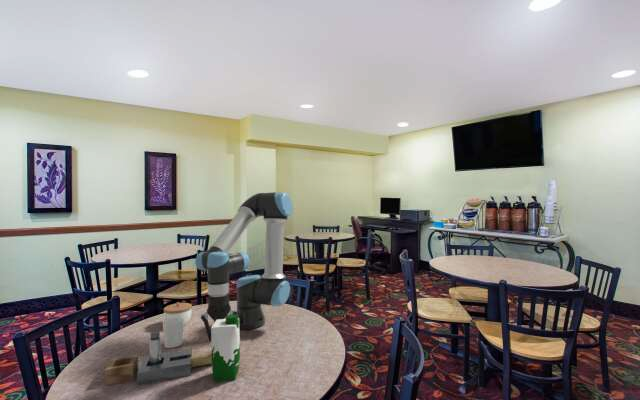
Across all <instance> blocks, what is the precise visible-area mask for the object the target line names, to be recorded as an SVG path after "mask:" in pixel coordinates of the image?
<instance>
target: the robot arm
mask: <svg viewBox="0 0 640 400" xmlns="http://www.w3.org/2000/svg"><path fill="white" fill-rule="evenodd" d="M292 212H293V201H292V198H291V197H290V195H289V194H287V192H283V191H282V192H279V191H277V192H275V191H274V192H259V193H258V192H257V193H255V194H253V195H252V196H250V197H248V199H245V200H244V202H243V203H242V204H241V205H240V206H239V207H238V208H237V213H236V214H235V216H234V217H233V218H232V219H231V221H230V222H229V223H228V224H227V226H226V227H225V228H224V230H223V231H222V232H221V233H220V234H219V236H218V237H217V238H216V239H215V241H214V242H213V243H212V245H211V246H210V247H209V249H208V250H207V251H202V252H201V251H200V252H199V253H198V254H197V255H196V258H195V261H194V263H195V266H196V268H197V269H198V270H200V271H206V272H207V295H208V296H207V309H206V312H205V313H202V314H201V315H200V319H201V321H203V324H204V328H205V330H206V334H207V337H208V341H209V342H211V327H210V324H209V320H208V318H209V317H210V319H211V320H212V321H213V324H214V323H215V321H216V320H217V319H225V318H226V316H227V315H230V314H237V315H238V318H239V330H252V329H256V328H260V327H262V326H264V325H265V323H266V317H265V314H264V311H263V309H262V308H263V307H262V305H265V306H271V307H282V306H283V305H285V304H286V303H287V301H288V299H289V296H290V292H291V286H290V283H289V281H287V280H286V275H285V274H284V273H283V269H284V268H283V267H284V264H283V263H284V240H285V239H284V236H285V233H284V232H285V223H286V222H287V221H288V217H289V216H291V215H292ZM260 217H263V221H264V222H265V223H266V225H265V231H266V232H265V248H264V249H265V253H264V255H265V256H264V273H263V274H261V275H259V274H254V275H253V274H252V275H247V276H246V275H245V276H243V277H239V278H238V279H237V280H236V309H233V308H232V307H231V305H230V294H229V293H230V275H235V274H236V273H242V272H243V271H246V270H247V269H248V268H249V266H250V263H251V262H250V257H249V255H248V254H247V253H245V252H236V253H229V252H230V251H231V249H232V248H233V247H234V246H235V244H236V243H237V241H238V240H239V239H240V237H241V236H242V234H243V233H244V232H245V230H246V229H247V228H248V226H249V225H250V224H251V223H253V222H254V221H256V219H257V218H260Z"/></svg>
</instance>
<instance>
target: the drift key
mask: <svg viewBox="0 0 640 400" xmlns="http://www.w3.org/2000/svg"><path fill="white" fill-rule="evenodd" d="M188 358H191V368H197V367H202V366H207V365H212V350H211V351H208V353H205V354H198V355H192V357H188Z"/></svg>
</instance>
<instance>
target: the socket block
mask: <svg viewBox="0 0 640 400" xmlns="http://www.w3.org/2000/svg"><path fill="white" fill-rule="evenodd" d="M192 356H193V349H192V348H189V349H182V350H178V351H177V350H176V351H171V352H163V353H161V364H159V365H153V366H150V355H145V356H144V357H143V358H142V362H141V363H140V366H139V367H138V370H137V373H136V378H137V380H136V381H137V384H136V385H137V386H141V385H146V384H151V383H156V382H162V381H168V380H173V379H174V380H175V379H180V378H182V377H189V376H191V372H192V367H191V358H188V357H192Z"/></svg>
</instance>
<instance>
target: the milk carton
mask: <svg viewBox="0 0 640 400" xmlns="http://www.w3.org/2000/svg"><path fill="white" fill-rule="evenodd" d="M210 330H211V341H210V342H211V343H210V344H211V351H212V364H211V369H212V370H211V372H212V380H213V382H222V381H224V382H225V381H227V382H228V381H236V379H237V375H238V373H239V370H240V363H241V362H240V361H241V360H240V359H241V353H240V352H241V351H240V350H241V345H240V344H241V342H240V341H241V340H240V336H241V335H240V329H239V318H238V315H237V314H230V313H229V314H228V315H227V316H226V318H225V319H217V320H216V321H215V323H214V322H213V324H212V326H211V327H210Z"/></svg>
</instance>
